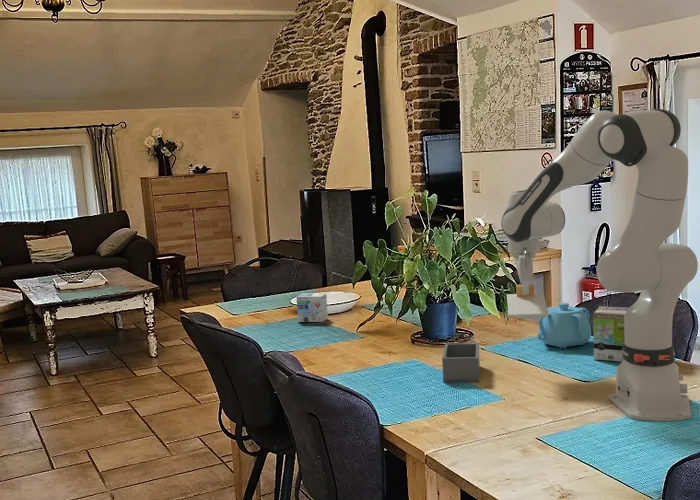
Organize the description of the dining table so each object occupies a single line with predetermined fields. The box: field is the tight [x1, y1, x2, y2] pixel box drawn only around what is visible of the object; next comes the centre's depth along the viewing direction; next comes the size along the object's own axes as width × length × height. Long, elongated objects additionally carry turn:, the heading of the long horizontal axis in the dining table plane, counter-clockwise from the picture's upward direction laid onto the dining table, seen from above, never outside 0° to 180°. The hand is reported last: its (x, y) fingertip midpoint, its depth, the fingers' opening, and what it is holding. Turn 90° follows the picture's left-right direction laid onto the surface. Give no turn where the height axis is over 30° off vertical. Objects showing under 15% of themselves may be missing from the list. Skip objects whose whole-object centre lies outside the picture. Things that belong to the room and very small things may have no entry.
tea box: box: [592, 305, 629, 363], centre depth 228 cm, size 15×10×15 cm, turn 62°
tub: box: [441, 342, 481, 384], centre depth 223 cm, size 16×10×7 cm, turn 170°
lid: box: [506, 283, 548, 320], centre depth 217 cm, size 17×11×5 cm, turn 170°
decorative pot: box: [537, 302, 592, 349], centre depth 248 cm, size 16×16×14 cm
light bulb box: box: [296, 292, 329, 323], centre depth 305 cm, size 11×7×11 cm, turn 73°
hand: (525, 292), depth 224 cm, fingers closed on lid, 2 cm apart
